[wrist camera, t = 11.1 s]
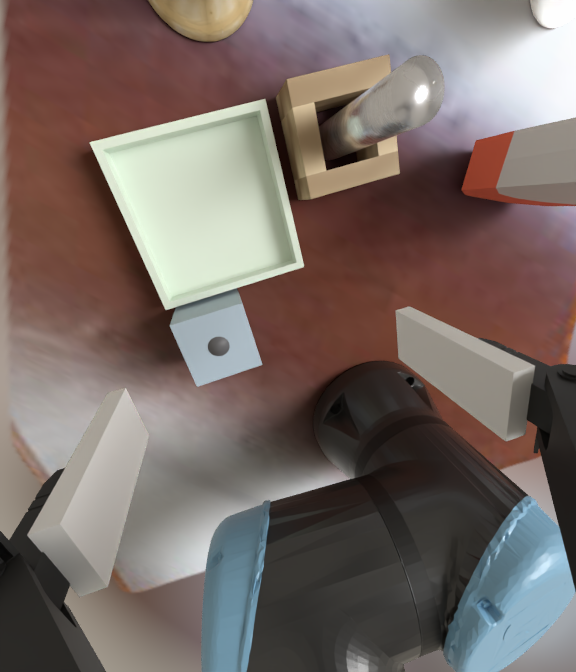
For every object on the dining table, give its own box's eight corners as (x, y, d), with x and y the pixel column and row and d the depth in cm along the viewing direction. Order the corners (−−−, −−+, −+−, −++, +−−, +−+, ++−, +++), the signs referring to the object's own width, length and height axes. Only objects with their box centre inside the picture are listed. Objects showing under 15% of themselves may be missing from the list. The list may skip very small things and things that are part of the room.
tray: (298, 263, 31) (304, 266, 29) (168, 303, 30) (165, 310, 28) (261, 107, 26) (265, 98, 24) (99, 147, 24) (89, 142, 22)
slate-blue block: (253, 339, 33) (262, 364, 28) (199, 357, 33) (197, 387, 27) (236, 286, 31) (242, 303, 25) (176, 304, 30) (169, 326, 25)
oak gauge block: (376, 177, 30) (399, 173, 26) (298, 200, 29) (311, 199, 25) (364, 75, 26) (389, 54, 23) (275, 97, 26) (286, 79, 22)
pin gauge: (348, 155, 29) (445, 118, 17) (318, 164, 28) (395, 133, 17) (342, 117, 27) (443, 48, 16) (310, 126, 27) (388, 63, 15)
